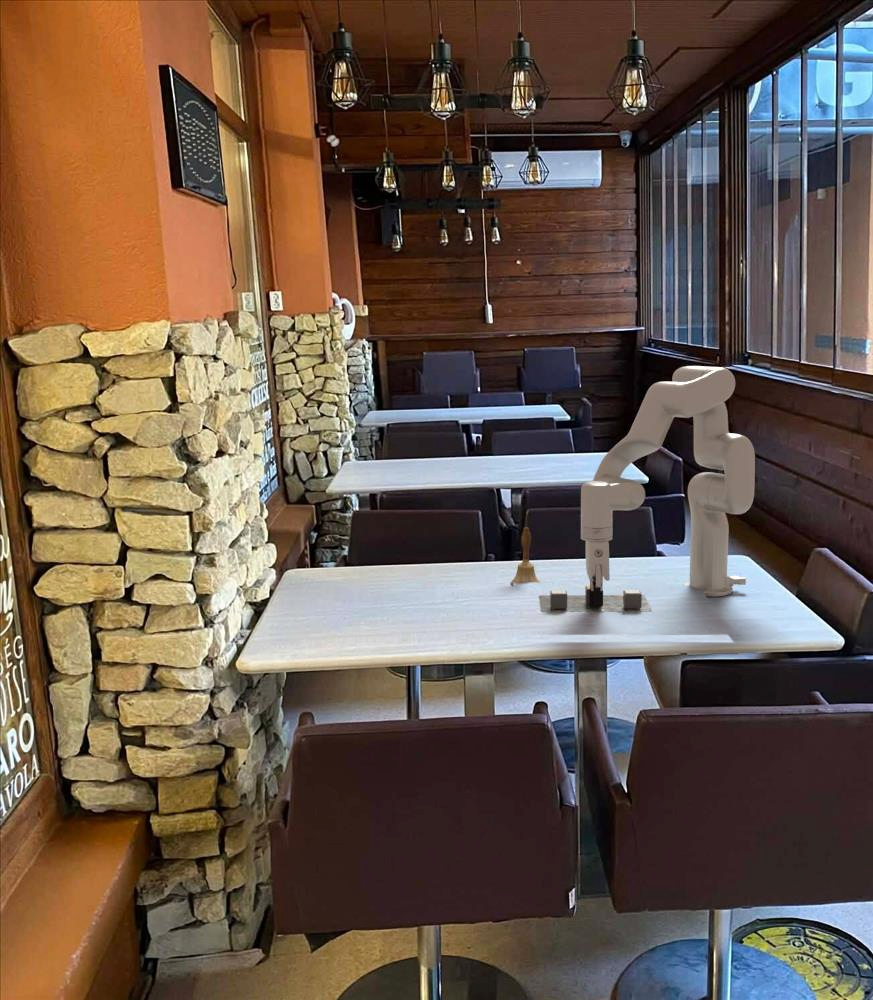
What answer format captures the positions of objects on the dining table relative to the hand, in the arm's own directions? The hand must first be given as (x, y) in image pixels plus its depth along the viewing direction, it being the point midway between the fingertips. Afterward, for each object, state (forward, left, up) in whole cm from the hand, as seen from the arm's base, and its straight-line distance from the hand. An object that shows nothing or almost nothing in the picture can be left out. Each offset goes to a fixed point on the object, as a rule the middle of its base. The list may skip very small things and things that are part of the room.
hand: (596, 605), depth 231 cm
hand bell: (+17, -30, -3) cm, 34 cm away
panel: (0, -6, -3) cm, 6 cm away
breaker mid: (0, -6, -1) cm, 6 cm away
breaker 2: (-9, -2, -1) cm, 9 cm away
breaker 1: (+9, -2, -1) cm, 9 cm away
